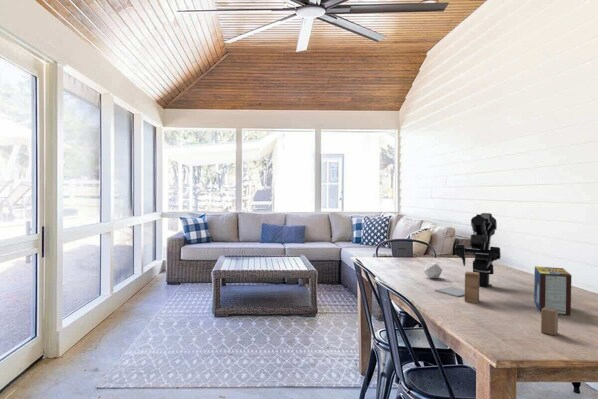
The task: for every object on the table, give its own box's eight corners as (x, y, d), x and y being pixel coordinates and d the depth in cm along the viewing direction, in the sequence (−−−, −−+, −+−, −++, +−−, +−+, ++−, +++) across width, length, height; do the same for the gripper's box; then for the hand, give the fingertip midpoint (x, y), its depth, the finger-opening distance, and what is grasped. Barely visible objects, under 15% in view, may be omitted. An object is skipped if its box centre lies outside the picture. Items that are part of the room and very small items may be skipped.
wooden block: (544, 330, 132) (544, 306, 132) (558, 333, 129) (558, 309, 129) (540, 332, 130) (541, 308, 130) (554, 336, 127) (555, 311, 127)
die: (439, 281, 206) (447, 265, 209) (423, 272, 207) (431, 256, 210) (433, 284, 214) (441, 268, 217) (418, 275, 215) (426, 259, 218)
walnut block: (466, 298, 171) (466, 271, 171) (479, 300, 168) (479, 272, 168) (464, 301, 167) (465, 273, 166) (477, 303, 164) (477, 274, 164)
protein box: (562, 305, 162) (563, 268, 162) (571, 316, 148) (572, 275, 148) (533, 302, 166) (534, 265, 166) (538, 312, 152) (539, 272, 152)
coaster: (452, 287, 190) (452, 286, 190) (474, 293, 180) (474, 292, 180) (435, 291, 184) (435, 289, 184) (457, 297, 173) (457, 295, 173)
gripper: (455, 226, 183) (450, 253, 174) (500, 229, 173) (497, 257, 164) (458, 241, 190) (453, 268, 181) (501, 244, 180) (499, 273, 171)
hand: (475, 266), depth 174 cm, fingers open, 9 cm apart
